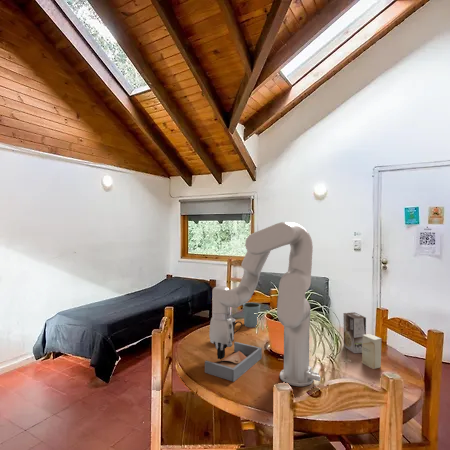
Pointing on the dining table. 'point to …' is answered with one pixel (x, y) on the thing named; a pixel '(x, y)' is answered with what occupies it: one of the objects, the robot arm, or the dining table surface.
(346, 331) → the coffee box
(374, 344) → the skincare box
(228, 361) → the sunglasses case
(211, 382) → the dining table surface
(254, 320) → the blue-grey cylindrical container
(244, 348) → the bin
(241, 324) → the coffee mug
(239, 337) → the dining table surface
